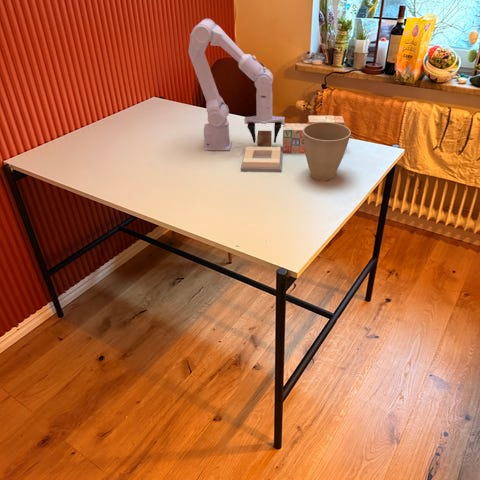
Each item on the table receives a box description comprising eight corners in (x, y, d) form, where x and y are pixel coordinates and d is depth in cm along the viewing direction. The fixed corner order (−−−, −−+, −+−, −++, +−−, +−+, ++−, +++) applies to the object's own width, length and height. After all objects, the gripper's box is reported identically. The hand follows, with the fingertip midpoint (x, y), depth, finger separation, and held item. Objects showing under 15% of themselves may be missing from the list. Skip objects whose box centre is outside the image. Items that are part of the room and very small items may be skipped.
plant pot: (317, 191, 143) (321, 144, 134) (292, 172, 154) (293, 127, 144) (354, 179, 148) (360, 133, 139) (327, 161, 159) (331, 118, 150)
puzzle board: (240, 171, 156) (240, 162, 154) (244, 153, 167) (244, 145, 165) (281, 172, 154) (281, 163, 152) (282, 154, 165) (282, 146, 163)
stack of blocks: (282, 153, 166) (283, 121, 159) (282, 146, 171) (283, 115, 164) (341, 154, 164) (344, 121, 157) (339, 146, 169) (343, 115, 162)
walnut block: (257, 151, 168) (257, 136, 165) (258, 145, 172) (258, 130, 169) (270, 151, 168) (270, 136, 164) (271, 145, 172) (271, 130, 168)
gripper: (243, 110, 158) (244, 145, 166) (284, 110, 156) (283, 146, 164) (245, 103, 164) (246, 138, 172) (285, 103, 162) (284, 138, 170)
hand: (264, 141), depth 168 cm, fingers open, 7 cm apart
